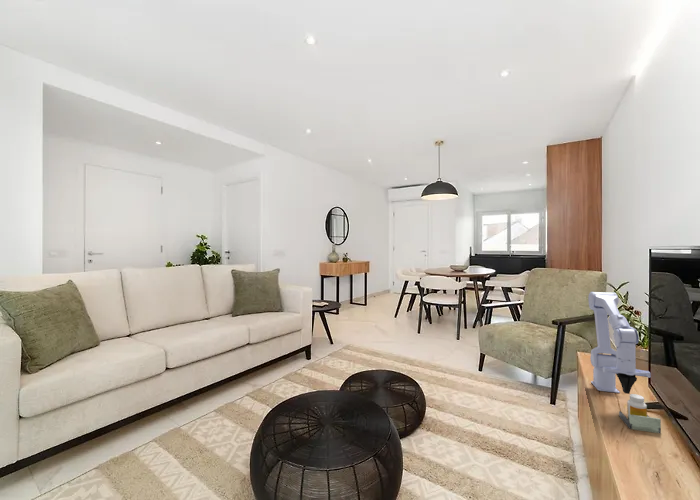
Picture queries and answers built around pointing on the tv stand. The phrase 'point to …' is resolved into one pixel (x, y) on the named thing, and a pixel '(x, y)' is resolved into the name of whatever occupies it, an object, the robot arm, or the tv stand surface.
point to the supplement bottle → (636, 406)
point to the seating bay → (642, 423)
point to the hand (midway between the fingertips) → (626, 392)
